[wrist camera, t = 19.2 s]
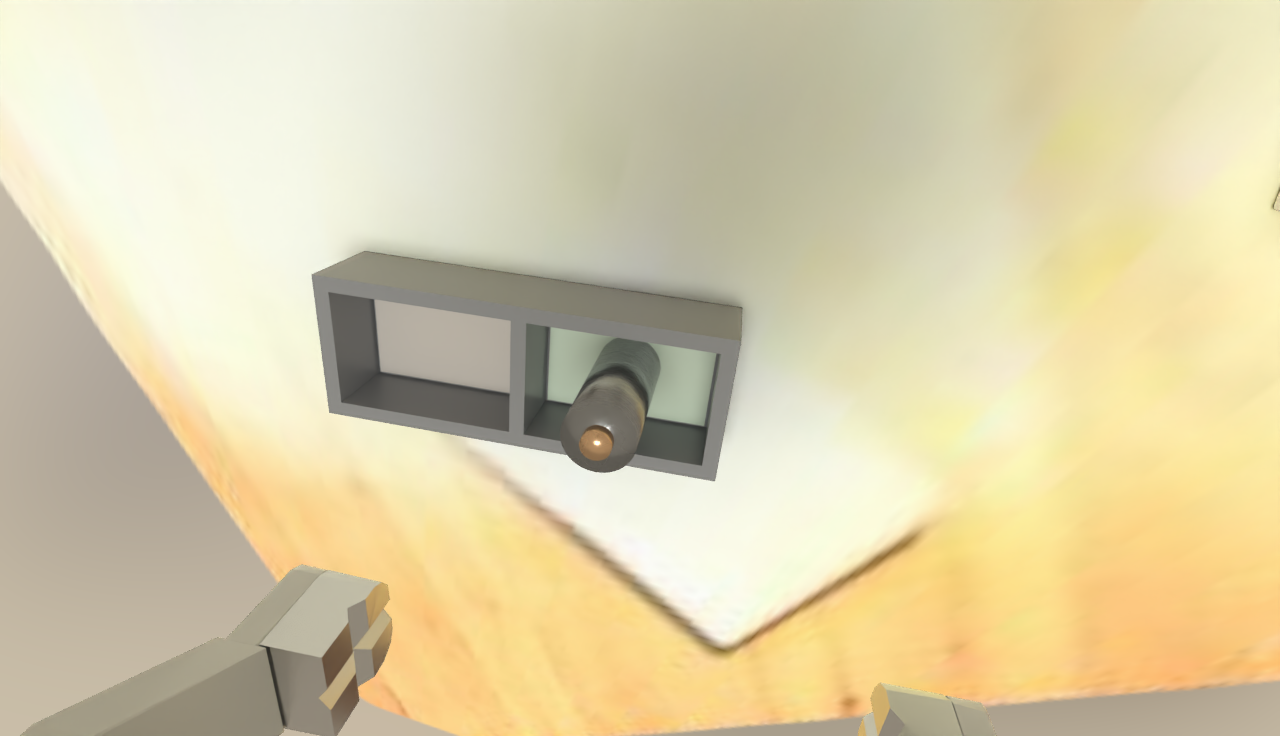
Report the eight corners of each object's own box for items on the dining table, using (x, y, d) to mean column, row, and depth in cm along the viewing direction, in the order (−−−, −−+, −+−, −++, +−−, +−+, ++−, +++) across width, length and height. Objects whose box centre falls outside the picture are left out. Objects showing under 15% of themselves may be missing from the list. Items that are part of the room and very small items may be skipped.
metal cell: (601, 331, 43) (557, 404, 33) (664, 341, 43) (639, 418, 33) (596, 388, 45) (553, 472, 35) (656, 398, 44) (630, 486, 35)
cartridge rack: (364, 251, 45) (311, 274, 39) (742, 307, 42) (741, 341, 37) (375, 376, 49) (329, 412, 44) (718, 434, 46) (714, 481, 41)
